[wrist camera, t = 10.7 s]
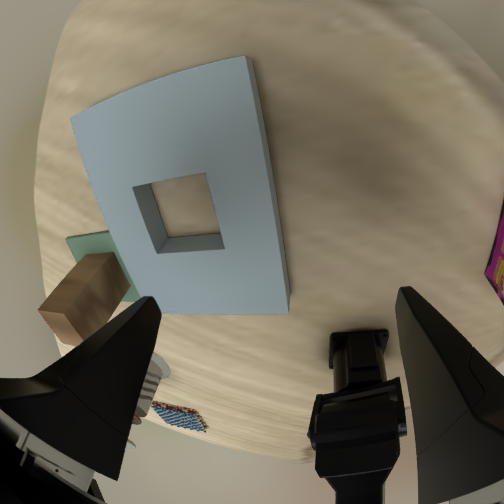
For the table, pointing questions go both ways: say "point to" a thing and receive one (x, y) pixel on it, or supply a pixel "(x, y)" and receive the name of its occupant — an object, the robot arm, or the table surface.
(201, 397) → the table surface
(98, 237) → the green pad
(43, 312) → the walnut block
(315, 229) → the table surface
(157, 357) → the french press
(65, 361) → the robot arm
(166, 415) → the woven mat
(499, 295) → the candy bar box
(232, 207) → the pocket board
